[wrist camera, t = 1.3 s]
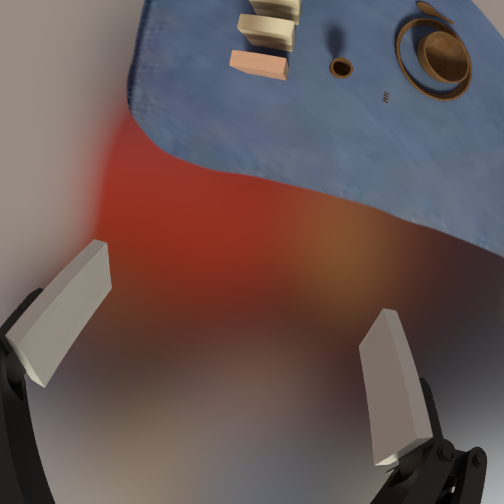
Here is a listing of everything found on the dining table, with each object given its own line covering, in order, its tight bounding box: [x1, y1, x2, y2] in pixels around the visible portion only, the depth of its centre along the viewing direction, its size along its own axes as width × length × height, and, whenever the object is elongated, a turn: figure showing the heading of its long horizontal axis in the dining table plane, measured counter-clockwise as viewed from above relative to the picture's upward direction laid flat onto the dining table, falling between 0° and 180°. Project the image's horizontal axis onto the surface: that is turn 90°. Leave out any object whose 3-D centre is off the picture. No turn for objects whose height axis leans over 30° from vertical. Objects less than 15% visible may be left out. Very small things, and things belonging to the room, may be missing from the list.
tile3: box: [249, 0, 301, 25], centre depth 22 cm, size 5×2×10 cm, turn 80°
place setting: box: [329, 2, 472, 103], centre depth 23 cm, size 18×20×6 cm
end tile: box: [229, 50, 289, 80], centre depth 26 cm, size 5×2×10 cm, turn 80°
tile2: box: [237, 14, 295, 52], centre depth 24 cm, size 5×2×10 cm, turn 80°
